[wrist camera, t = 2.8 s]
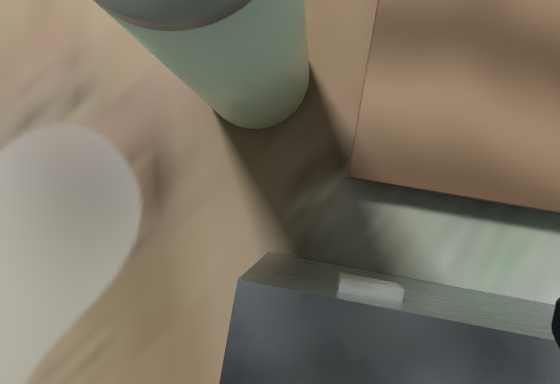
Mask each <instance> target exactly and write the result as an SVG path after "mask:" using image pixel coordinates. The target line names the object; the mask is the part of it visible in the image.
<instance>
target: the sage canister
mask: <svg viewBox="0 0 560 384" xmlns="http://www.w3.org/2000/svg"><path fill="white" fill-rule="evenodd" d="M94 1H95V2H96V3H97V4H98V5H99V6H100V7H101V8H103V9H104V10H105V11H106V12H107V13H108V14H109V15H110V16H111V17H112V18H114V19H115V20H116V21H117V22H118V23H119V24H120V25H121V26H122V27H123V28H125V29H126V30H127V31H128V32H129V33H130V34H131V35H132V36H133V37H134V38H136V39H137V40H138V41H139V42H140V43H141V44H142V45H143V46H144V47H145V48H147V49H148V50H149V51H150V52H151V53H152V54H153V55H154V56H155V57H156V58H158V59H159V60H160V61H161V62H162V63H163V64H164V65H165V66H166V67H167V68H169V69H170V70H171V71H172V72H173V73H174V74H175V75H176V76H177V77H178V78H180V79H181V80H182V81H183V82H184V83H185V84H186V85H187V86H188V87H189V88H191V89H192V90H193V91H194V92H195V93H196V94H197V95H198V96H199V97H200V98H202V99H203V100H204V101H205V102H206V103H207V104H208V105H209V106H210V107H211V108H213V109H214V110H215V111H216V112H217V113H218V114H219V115H220V116H221V117H223V118H224V119H225V120H227V121H228V122H230V123H232V124H234V125H236V126H239V127H243V128H248V129H262V128H268V127H271V126H274V125H276V124H279V123H281V122H282V121H284V120H286V119H287V118H288V117H289V116H291V115H292V114H293V113H294V112H295V111H296V110H297V108H298V107H299V106H300V104H301V103H302V101H303V99H304V97H305V94H306V92H307V88H308V84H309V62H308V49H307V35H306V22H305V9H304V0H94Z"/></svg>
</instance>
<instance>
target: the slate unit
mask: <svg viewBox="0 0 560 384" xmlns="http://www.w3.org/2000/svg"><path fill="white" fill-rule="evenodd" d="M554 309H555V305H550V304H544V303H539V302H534V301H528V300H523V299H518V298H512V297H507V296H501V295H496V294H491V293H485V292H480V291H475V290H469V289H464V288H459V287H453V286H448V285H442V284H437V283H432V282H426V281H421V280H416V279H410V278H405V277H399V276H394V275H389V274H383V273H378V272H373V271H367V270H362V269H356V268H351V267H346V266H340V265H335V264H330V263H324V262H319V261H313V260H308V259H303V258H297V257H292V256H287V255H281V254H276V253H271V252H268V253H267V254H265V255H264V256H263V257H262V258H261V259H260V260H259V261H258V262H257V263H255V264H254V265H253V266H252V267H251V268H250V269H249V270H248V271H247V272H245V273H244V274H243V275H242V276H241V277H240V278H239V279H238V281H237V287H236V293H235V298H234V304H233V310H232V315H231V321H230V327H229V332H228V338H227V344H226V349H225V355H224V361H223V366H222V372H221V378H220V383H219V384H560V349H559V347H558V345H557V343H556V341H555V339H554V336H553V334H552V329H551V323H552V318H553V314H554Z"/></svg>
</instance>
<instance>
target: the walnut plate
mask: <svg viewBox="0 0 560 384" xmlns="http://www.w3.org/2000/svg"><path fill="white" fill-rule="evenodd" d="M347 178H351V179H357V180H363V181H369V182H375V183H381V184H387V185H393V186H399V187H405V188H411V189H416V190H422V191H428V192H434V193H440V194H446V195H452V196H458V197H464V198H470V199H476V200H482V201H487V202H493V203H499V204H505V205H511V206H517V207H523V208H529V209H535V210H541V211H547V212H552V213H558V214H560V0H378V4H377V10H376V16H375V21H374V27H373V33H372V39H371V44H370V50H369V56H368V62H367V68H366V73H365V79H364V85H363V91H362V96H361V102H360V108H359V114H358V119H357V125H356V131H355V137H354V143H353V148H352V154H351V160H350V166H349V171H348V177H347Z"/></svg>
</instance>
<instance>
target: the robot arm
mask: <svg viewBox="0 0 560 384" xmlns="http://www.w3.org/2000/svg"><path fill="white" fill-rule="evenodd" d="M551 329H552V334H553V336H554V339H555V341H556V343H557V345H558V347H559V349H560V298H559V299H558V300H557V301H556V304H555V309H554V314H553V318H552V323H551Z"/></svg>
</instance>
